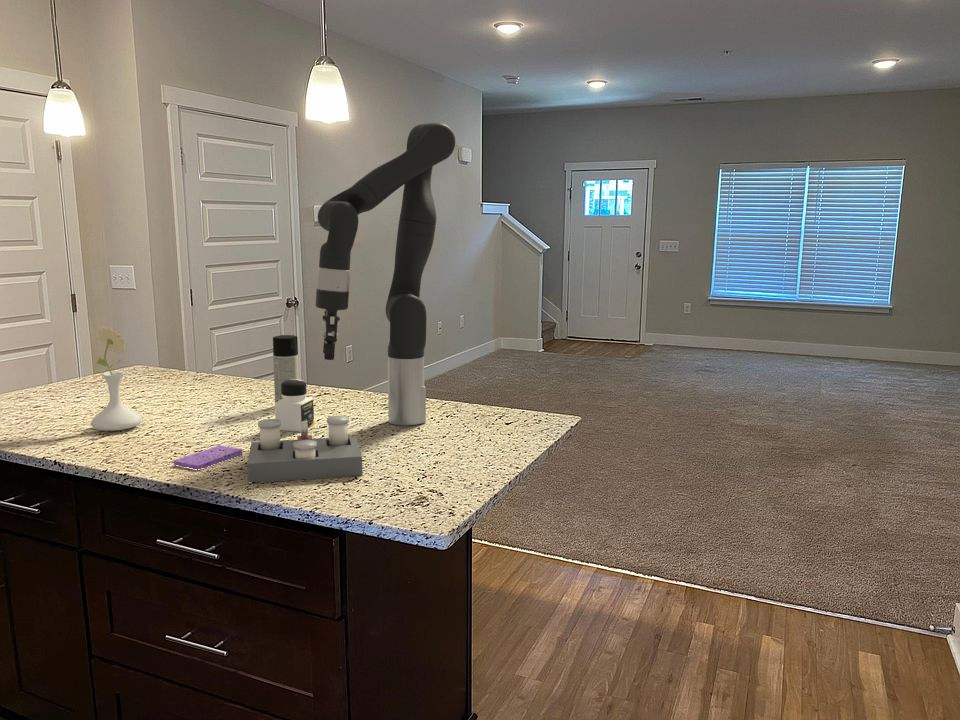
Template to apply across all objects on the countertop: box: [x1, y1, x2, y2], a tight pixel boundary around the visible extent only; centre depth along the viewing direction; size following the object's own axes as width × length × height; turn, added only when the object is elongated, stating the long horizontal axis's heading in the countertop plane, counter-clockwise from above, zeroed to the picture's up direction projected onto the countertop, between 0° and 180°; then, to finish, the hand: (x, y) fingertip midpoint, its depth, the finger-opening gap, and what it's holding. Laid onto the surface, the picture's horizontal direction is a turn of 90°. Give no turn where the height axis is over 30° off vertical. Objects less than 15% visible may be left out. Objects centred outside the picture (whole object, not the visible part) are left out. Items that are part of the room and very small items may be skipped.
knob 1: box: [257, 418, 281, 450], centre depth 151 cm, size 5×5×6 cm
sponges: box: [173, 444, 243, 470], centre depth 155 cm, size 7×13×2 cm, turn 153°
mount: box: [246, 435, 363, 483], centre depth 150 cm, size 22×15×4 cm
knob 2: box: [326, 415, 350, 446], centre depth 155 cm, size 5×5×6 cm
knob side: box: [293, 440, 317, 458], centre depth 147 cm, size 5×5×6 cm
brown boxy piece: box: [296, 421, 313, 441], centre depth 153 cm, size 3×3×5 cm
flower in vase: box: [90, 326, 143, 432], centre depth 177 cm, size 13×11×25 cm
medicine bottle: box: [274, 379, 315, 433], centre depth 180 cm, size 7×7×12 cm
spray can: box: [272, 334, 300, 403], centre depth 200 cm, size 7×7×20 cm
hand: (328, 356), depth 171 cm, fingers open, 8 cm apart
